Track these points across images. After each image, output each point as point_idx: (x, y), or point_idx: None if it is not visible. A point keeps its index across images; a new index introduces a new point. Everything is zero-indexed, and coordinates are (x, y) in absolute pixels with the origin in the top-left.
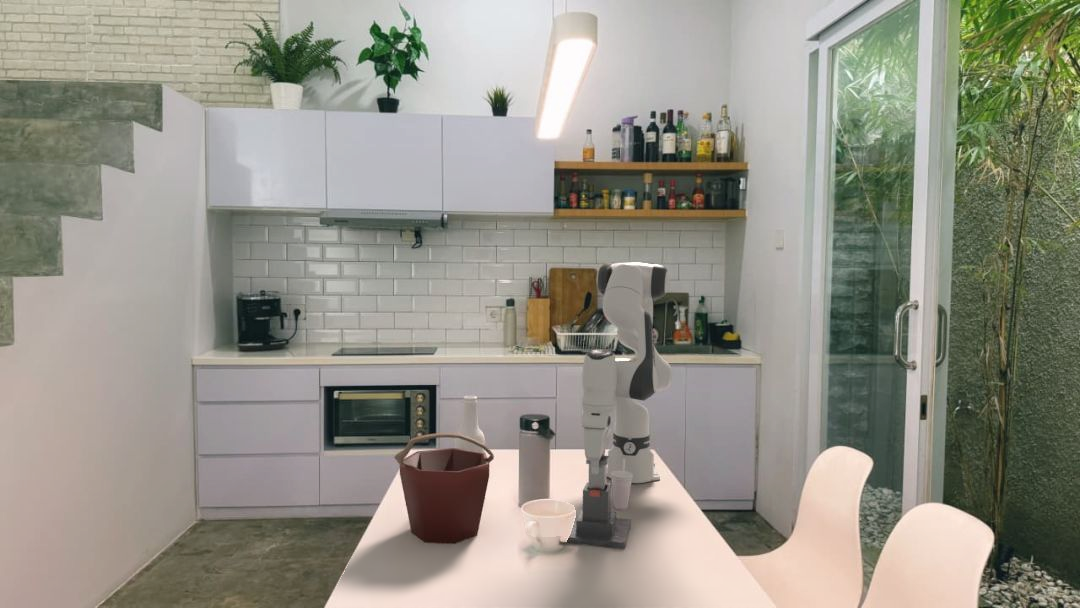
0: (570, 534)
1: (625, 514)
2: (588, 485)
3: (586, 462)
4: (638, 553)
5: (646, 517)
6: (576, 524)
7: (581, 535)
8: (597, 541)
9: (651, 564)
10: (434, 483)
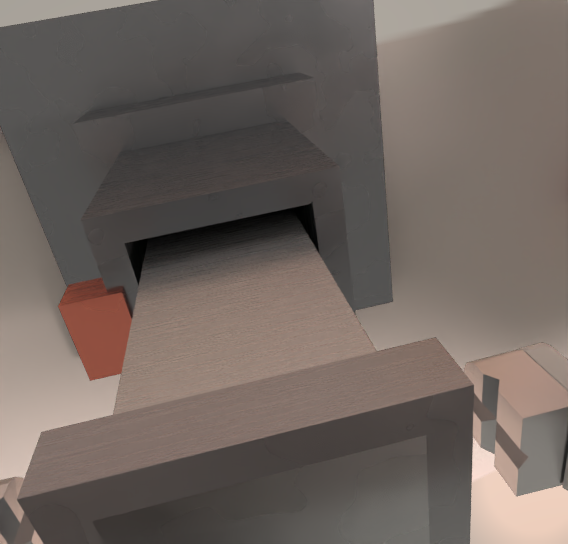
0: (34, 90)
1: (508, 226)
2: (142, 269)
3: (35, 457)
4: (96, 406)
5: (491, 314)
6: (78, 120)
7: (62, 157)
8: (55, 254)
9: (26, 470)
10: None
